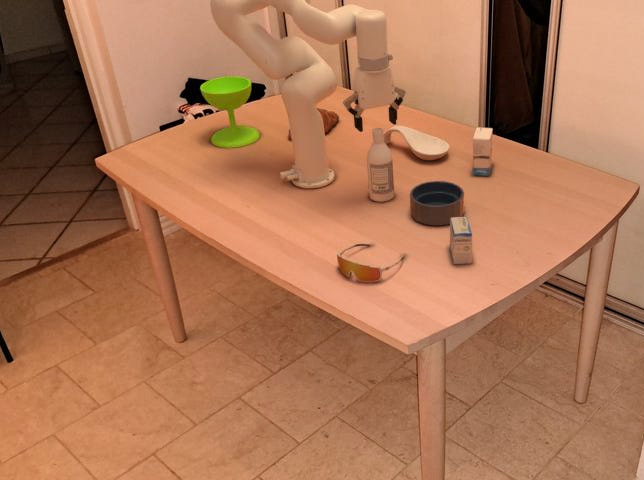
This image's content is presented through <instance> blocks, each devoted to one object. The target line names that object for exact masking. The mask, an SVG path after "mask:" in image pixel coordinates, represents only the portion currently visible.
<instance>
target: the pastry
mask: <svg viewBox="0 0 644 480" xmlns="http://www.w3.org/2000/svg"><path fill="white" fill-rule="evenodd" d="M317 109H318V111H319V113H320V114H321V116H322V119H323V123H324V132H325V135H326V134H327V133H328V132H330V131H331V130H332V128H333V127H335V126H336V124H337V123H338V122H339V120H340V115H338V114H337V112H335V111H333V110H327V109H325V108H319V107H317ZM288 138H289V139H290V140H291V141H292V139H291V132H290V128H289V129H288Z"/></svg>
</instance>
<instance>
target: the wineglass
mask: <svg viewBox="0 0 644 480" xmlns="http://www.w3.org/2000/svg"><path fill="white" fill-rule="evenodd" d="M199 90H200V92H201V95H202V97H203V98H204V100H205V101H206V102H207V103H208V104H209V105H211V107H212V108H215V109H217V110H220V111H227V115H228V120H229V127H228V126H227V127H225V128H222V129H219V130H217V131H216V132H215V133H213V135H212V136H211V138H210V143H211V144H212V145H214V146H216V147H219V148H226V149H227V148H228V149H229V148H232V149H233V148H234V149H235V148H240V147H245V146H249V145H251V144H253V143H254V142H257V140H259V139H260V137H261V134H260V132H259V131H258V130H257V129H256V128H254V127H251V126H247V125H237V121H236V117H235V110H237V109H239V108H241V107H243V106H244V105H245V104H246V103H247V101H248V99H250V96H251V94H252V93H251V92H252V81H251V80H250V79H249V78H247V77H244V76H243V77H242V76H222V77H216V78H213V79H209V80H207V81H205V82H203V83H202V84H201V85H200V88H199Z"/></svg>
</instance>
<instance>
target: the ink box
mask: <svg viewBox="0 0 644 480" xmlns="http://www.w3.org/2000/svg"><path fill="white" fill-rule="evenodd" d="M493 130H494V129H493V128H492V127H480V126H479V127H476V128H475V132H474V133H473V138H472V176H476V177H477V176H480V177H490V173H491V170H492V165H493V164H492V163H493V161H492V160H493Z"/></svg>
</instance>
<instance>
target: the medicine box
mask: <svg viewBox="0 0 644 480" xmlns="http://www.w3.org/2000/svg"><path fill="white" fill-rule="evenodd" d="M449 250H450V254H451V258H452V263H453V265H466V264H472V261H473V259H472V258H473V232H472V229H471V225H470V222H469V217H468V216H462V217H454V218H450V224H449Z"/></svg>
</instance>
